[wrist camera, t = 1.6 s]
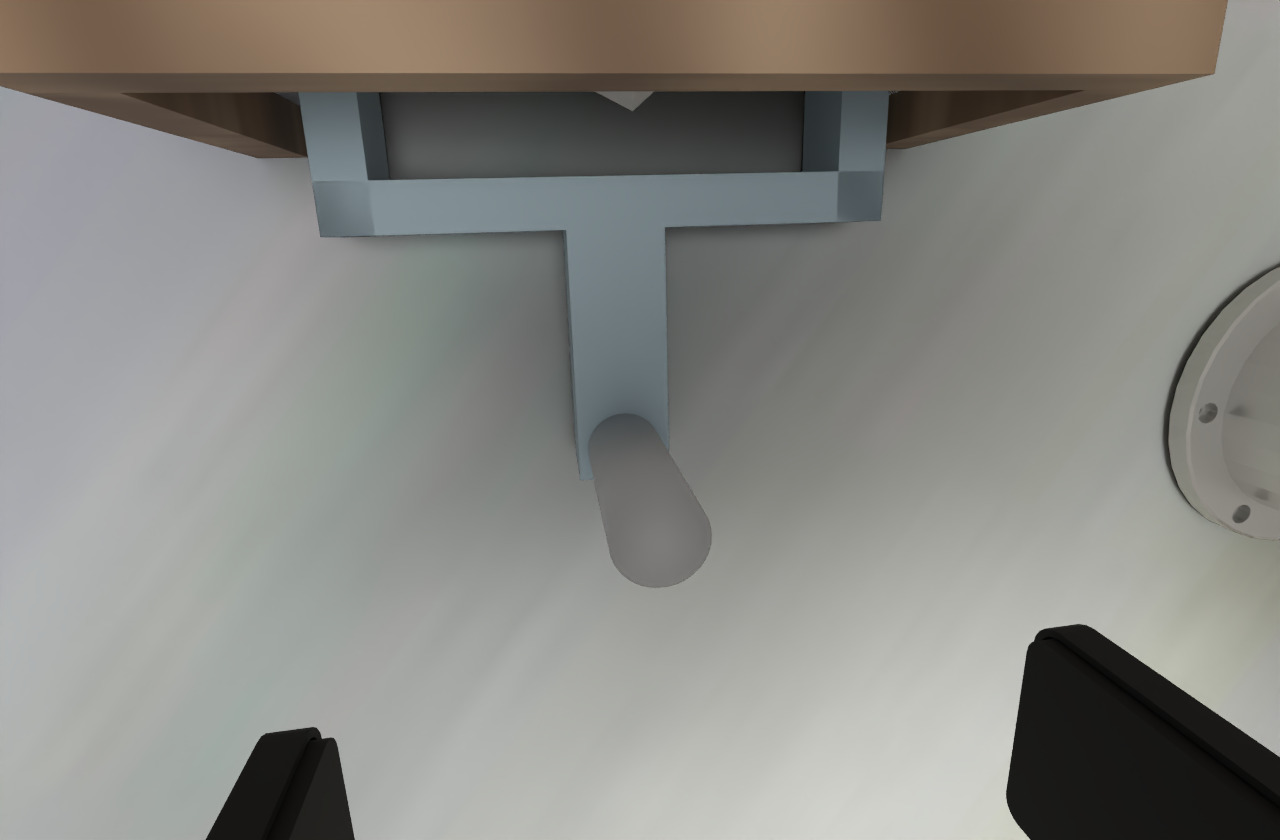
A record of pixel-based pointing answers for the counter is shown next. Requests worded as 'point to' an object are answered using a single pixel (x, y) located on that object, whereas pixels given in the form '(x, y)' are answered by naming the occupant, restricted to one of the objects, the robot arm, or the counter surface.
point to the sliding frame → (608, 279)
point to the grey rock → (627, 97)
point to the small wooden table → (595, 55)
